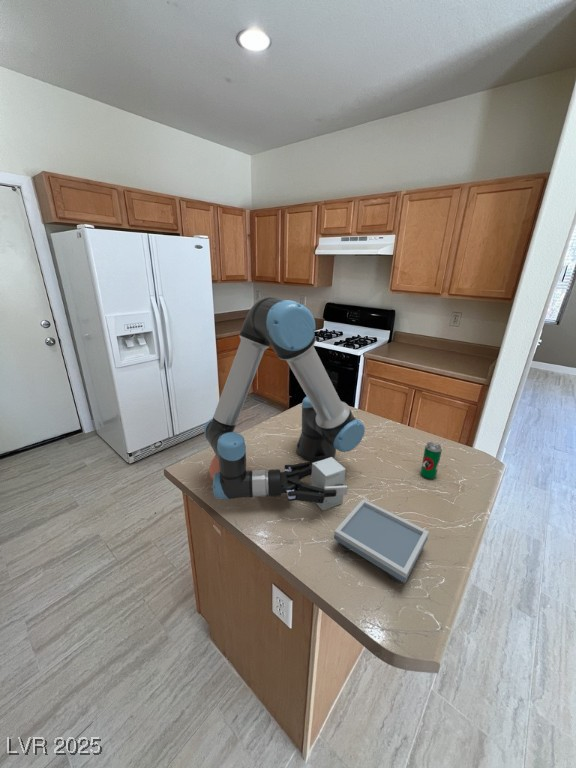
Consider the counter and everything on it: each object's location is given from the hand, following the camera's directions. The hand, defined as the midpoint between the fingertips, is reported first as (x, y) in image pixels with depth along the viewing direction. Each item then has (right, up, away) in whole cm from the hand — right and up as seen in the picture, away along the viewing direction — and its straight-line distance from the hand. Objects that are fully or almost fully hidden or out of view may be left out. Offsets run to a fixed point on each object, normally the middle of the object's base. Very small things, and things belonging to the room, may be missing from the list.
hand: (342, 479), depth 93 cm
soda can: (+32, -3, +14) cm, 35 cm away
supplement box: (-4, -7, +2) cm, 9 cm away
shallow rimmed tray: (+7, -13, -14) cm, 21 cm away
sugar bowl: (-36, -3, +14) cm, 39 cm away
